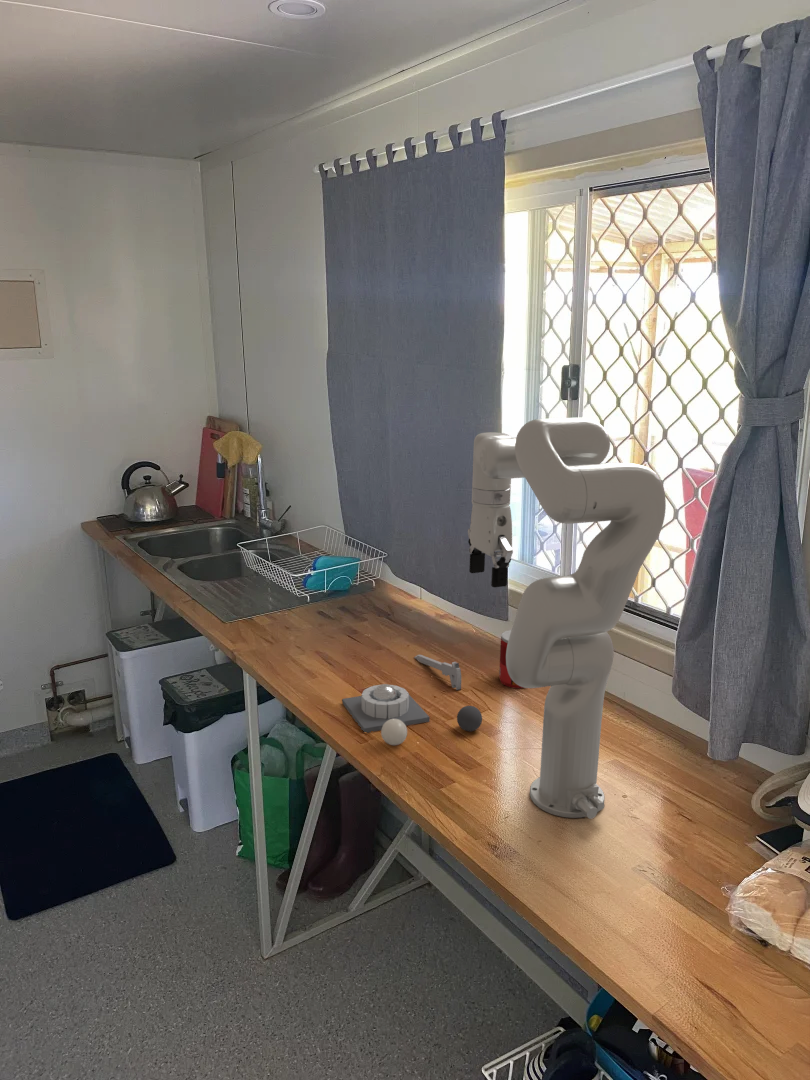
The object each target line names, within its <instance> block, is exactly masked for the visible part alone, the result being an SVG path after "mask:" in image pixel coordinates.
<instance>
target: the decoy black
mask: <svg viewBox="0 0 810 1080" xmlns="http://www.w3.org/2000/svg"><path fill="white" fill-rule="evenodd" d="M456 715H457V716H456V722H457V724H458V727H460V728H461V729H462V730H463V731H465V732H474V731H476V730H478V729H479V727H481V725H482V722H483V716H482V712H481V711H480V709H478V707H476V706H474V705H465V706H463V707H462V708H460V709H459V710H458V713H457V714H456Z"/></svg>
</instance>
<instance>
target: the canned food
mask: <svg viewBox="0 0 810 1080" xmlns="http://www.w3.org/2000/svg"><path fill="white" fill-rule="evenodd" d="M511 630H512V629H509V630H505V631H503V632H502V633H501V635H500V647H499V648H500V651H499V654H500V655H499V671H498V673H499V675H498V677H499V680H500V683H501V684H502V685H503V686H505V687H508V688H512V689H525V688H524V687H521V686H519V685H517V684H516V683H515V682H514V681H513V680H512V679H511V678H510V676H509V674H508V671H507V666H506V650H507V644H508V640H509V637H510V633H511Z"/></svg>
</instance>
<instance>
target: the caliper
mask: <svg viewBox="0 0 810 1080" xmlns="http://www.w3.org/2000/svg"><path fill="white" fill-rule="evenodd" d="M413 658H414V659H416V661H418V662H419V663H421V664H423V665H426V666H428V667H431V668H434V669H436V670H439V671H441V674H442V675H443V676H449V679H450V684H451V688H452V689H454V688H455V691H459V690H461V689H462V672H461V668H460V665H459V662H457V661H453V662H451V663H448V662H441V661H438V660H435V659H433V658H430V657H428V656H425V655H423V654H416V656H414V657H413Z"/></svg>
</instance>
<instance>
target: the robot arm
mask: <svg viewBox="0 0 810 1080" xmlns="http://www.w3.org/2000/svg"><path fill="white" fill-rule="evenodd" d="M610 447H611V439H610V435H609V434H608V431H607V430H606V428H605V427H604V426H603V425H602V424H601V423H599V422H598V421H596V420H594V419H591V418H587V417H556V418H555V417H553V418H552V417H551V418H535V419H532V420H529V421H528V422H526V423H524V424H523V425H522V426H521V428H520V429H519V431H518V432H517V435H516V437H512V436H511V435H510V434H507V433H504V432H494V431H491V432H490V431H488V432H481V433H478V434H477V435H475V437H474V440H473V451H472V453H473V454H472V455H473V458H472V484H471V485H472V487H471V489H472V490H471V504H472V509H471V516H470V525H469V526H470V527H469V528H468V529H467V535H468V541H467V542H468V544H469V548H468V551H469V573H471V574H476V573H477V574H478V573H483V572H485V568H486V567H485V565H486V562H485V561H486V556H489V557H491V561H492V563H493V567H491V582H490V585H491V587H492V588H501V587H502V588H503V587H506V586H507V585H508V572H509V570H508V568H510V563H511V561H512V557H513V553H514V551H513V520H512V511H511V506H510V505H511V493H512V491H511V487H512V479H525V480H526V481H527V484H528V485H529V488H530V489H531V490H532V492H533V493H534V494H533V495H534V496H535V497H536V499H537V500H538V502H539V504H540V506H541V508H542V509H543V511H544V512H545V513H546V514H547V516H548V517H549V518H550V519H552V520H553V521H554V522H556V523H561V524H569V525H570V524H582V523H585V524H586V523H599V522H608V521H609V524H608V525H607V526H606V527H605V528H603V529H602V530H601V531H600V532H599V533H598V534H597V535H595V537H593V538H592V540H590V542H589V543H588V545H587V547H586V548H585V549H584V552H583V555H582V557H581V561H580V563H579V565H578V567H577V569H576V570H575V572H572V573H570V574H568V575H560V576H551V577H545V578H543V577H542V578H540V579H537V580H535V581H533V582H531V583H530V584H529V585H528V586H527V587H526V588H525V589H524V592H523V593H522V595H521V598H520V601H519V604H518V607H517V611H516V614H515V617H514V620H513V623H512V627H511V629H510V630H511V633H510V637H509V640H508V644H507V650H506V666H507V671H508V674H509V676H510V678H511V679H512V680H513V681H514V682H515V683H516V684H517V685H519V686H521V687H524V688H523V689H539V688H545V687H549V689H548V691H547V694H546V697H545V700H544V707H543V708H544V709H543V718H542V719H543V721H542V724H543V725H542V735H541V736H542V738H541V739H542V740H541V757H540V769H539V770H540V772H539V777H537V778H536V779H535V780H533V782H532V783H531V784H530V787H529V797H530V799H531V800H532V801H531V802H533V804H534V805H535V806H537V807H538V808H539V809H540V810H542V811H544V812H546V813H548V814H550V815H553V816H556V817H561V818H568V819H579V818H580V819H581V818H588V819H591V820H592V819H594V818H595V817H596V816H597V815H598V813H599V812H600V811H602V810H604V808H605V799H606V798H605V792H604V790H603V789H602V788H601V786H599V785H598V784H597V781H598V769H599V759H600V757H599V756H600V743H601V731H602V720H603V708H604V699H605V695H606V694H605V692H606V689H607V684H608V683H607V682H608V680H609V677H610V672H611V670H612V666H613V663H614V656H615V654H614V651H615V650H614V643H613V641H612V640H613V639H612V638H611V635H610V634H609V633H608V632H609V631H610V630H613V629H614V628H615V627H616V625H617V624H618V622H619V621H620V618H621V616H622V614H623V612H624V610H625V608H626V604H627V602H628V599H629V597H630V595H631V592H632V590H633V588H634V585H635V583H636V580H637V577H638V574H639V572H640V569H641V567H642V565H643V564H644V562H645V561H646V559H647V557H648V556H649V554H650V552H651V551H652V549H653V547H654V546H655V544H656V542H657V540H658V538H659V536H660V534H661V531H662V528H663V525H664V521H665V516H666V515H665V514H666V506H667V505H666V502H667V501H666V493H665V488H664V485H663V482H662V480H661V478H660V476H659V475H658V473H657V472H655V470H653V469H652V468H650V467H648V466H646V465H642V464H638V463H633V462H632V463H630V462H608V463H605V462H604V460H605V459H607V456H608V455H609V452H610ZM603 462H604V463H603ZM499 557H500V558H499ZM498 558H499V559H498Z"/></svg>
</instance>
